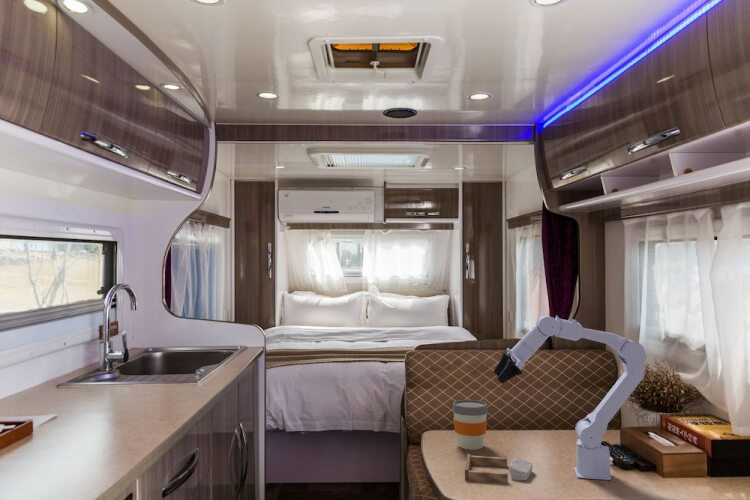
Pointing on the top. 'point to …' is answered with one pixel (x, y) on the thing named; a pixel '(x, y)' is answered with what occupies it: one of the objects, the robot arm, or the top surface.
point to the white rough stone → (520, 469)
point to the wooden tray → (485, 475)
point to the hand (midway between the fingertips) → (497, 377)
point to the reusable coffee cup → (470, 423)
